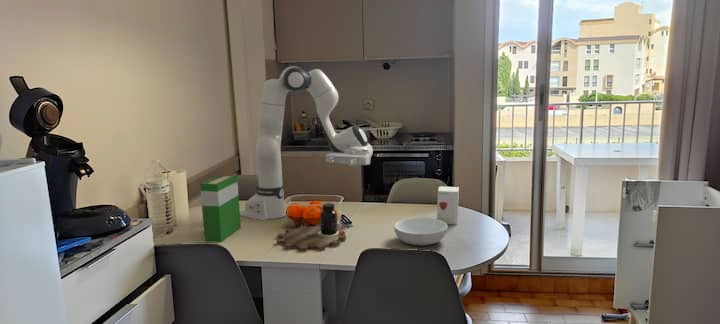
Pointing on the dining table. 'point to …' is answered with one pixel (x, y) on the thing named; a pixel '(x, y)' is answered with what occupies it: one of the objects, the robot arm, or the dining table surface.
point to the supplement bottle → (328, 219)
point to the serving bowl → (420, 230)
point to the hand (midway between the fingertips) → (340, 161)
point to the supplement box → (448, 204)
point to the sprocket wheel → (309, 238)
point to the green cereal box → (220, 207)
